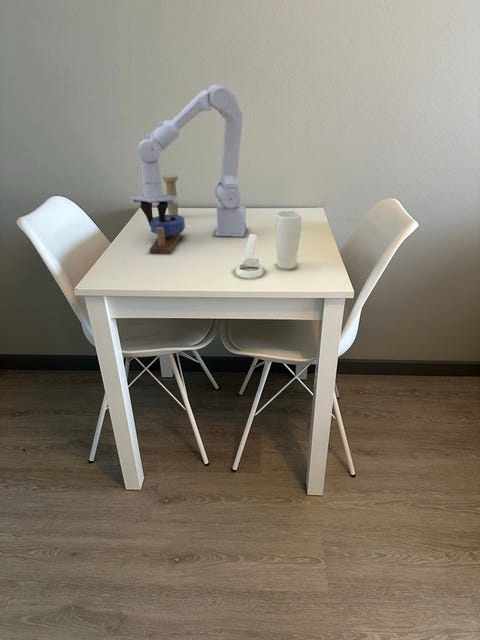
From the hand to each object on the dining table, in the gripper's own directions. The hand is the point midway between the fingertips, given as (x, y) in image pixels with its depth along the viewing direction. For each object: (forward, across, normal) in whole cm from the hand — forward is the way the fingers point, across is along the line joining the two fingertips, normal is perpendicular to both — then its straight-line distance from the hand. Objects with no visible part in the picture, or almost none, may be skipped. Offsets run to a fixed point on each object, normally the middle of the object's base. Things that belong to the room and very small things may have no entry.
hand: (156, 225), depth 148 cm
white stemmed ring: (+5, +32, -23) cm, 40 cm away
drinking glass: (+5, +42, -18) cm, 46 cm away
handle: (+5, 0, +22) cm, 23 cm away
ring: (+1, +4, 0) cm, 4 cm away
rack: (+5, +4, -4) cm, 7 cm away
